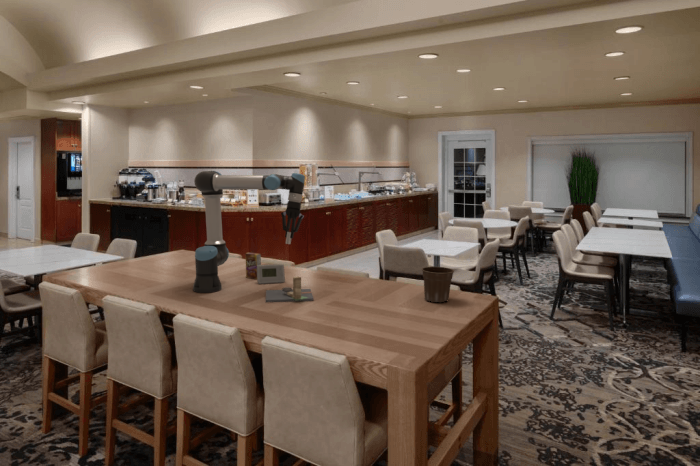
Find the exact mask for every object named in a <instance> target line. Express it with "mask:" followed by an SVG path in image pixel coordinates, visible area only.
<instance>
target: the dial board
mask: <svg viewBox="0 0 700 466" xmlns="http://www.w3.org/2000/svg"><path fill="white" fill-rule="evenodd" d="M288 292H293V288H292V291H288ZM311 301H313V302H314V295H313V292H312V289H311V288H301V299H294V298H293V297H291V296H289V295H287V292H285V291H282V289H267V290H265V303H284V302H285V303H288V302H311Z"/></svg>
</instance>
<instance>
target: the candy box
mask: <svg viewBox="0 0 700 466" xmlns="http://www.w3.org/2000/svg"><path fill="white" fill-rule="evenodd" d="M261 256H262V253H256V252H246V253H245V278H247V279H252V280H257V266H258V265H262V257H261Z"/></svg>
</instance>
